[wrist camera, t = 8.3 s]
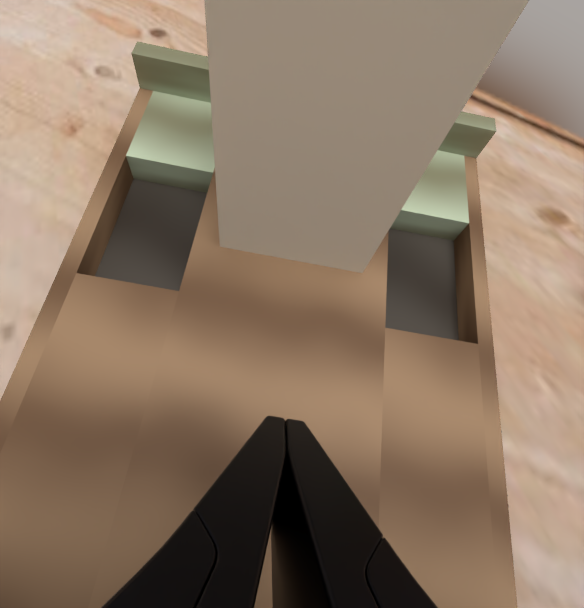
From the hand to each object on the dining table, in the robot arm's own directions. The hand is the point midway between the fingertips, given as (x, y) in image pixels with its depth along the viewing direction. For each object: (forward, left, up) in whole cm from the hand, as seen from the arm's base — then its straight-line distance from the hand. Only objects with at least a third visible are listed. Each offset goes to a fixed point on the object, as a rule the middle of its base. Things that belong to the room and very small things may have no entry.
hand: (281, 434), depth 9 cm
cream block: (+9, +9, -7) cm, 14 cm away
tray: (+4, +4, -9) cm, 10 cm away
